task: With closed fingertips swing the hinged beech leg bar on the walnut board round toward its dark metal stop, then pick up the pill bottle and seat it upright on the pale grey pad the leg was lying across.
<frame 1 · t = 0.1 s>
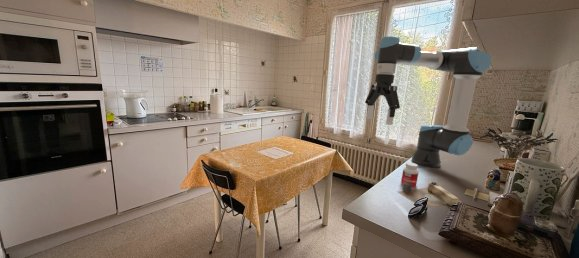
hand: (378, 121, 107), 28 cm above the counter, fingers open, 13 cm apart
leg bar: (442, 192, 94), point 4 cm above the counter, hinge at 75.0°
pill bottle: (407, 187, 106), on the counter
board: (428, 199, 95), on the counter
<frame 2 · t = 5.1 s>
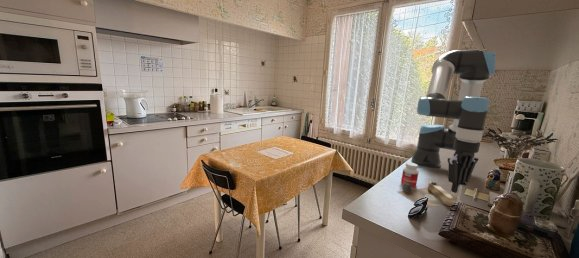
hand: (454, 199, 89), 3 cm above the counter, fingers closed
leg bar: (440, 192, 94), point 4 cm above the counter, hinge at 69.7°, touching gripper
everything else where it was.
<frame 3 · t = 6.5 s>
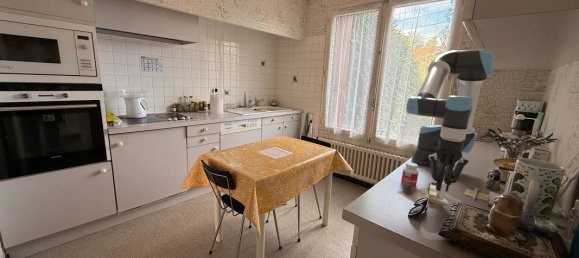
hand: (439, 198, 90), 3 cm above the counter, fingers closed
leg bar: (433, 191, 95), point 4 cm above the counter, hinge at 39.4°, touching gripper
everything else where it was.
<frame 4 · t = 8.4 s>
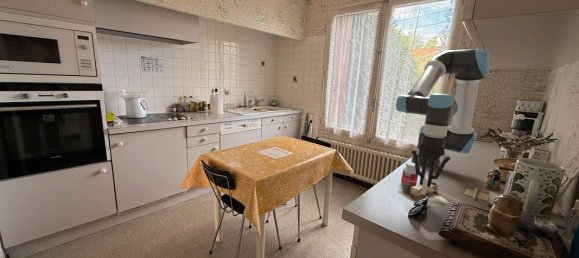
hand: (423, 193, 93), 4 cm above the counter, fingers closed
leg bar: (425, 188, 97), point 4 cm above the counter, hinge at 7.0°
everything else where it was.
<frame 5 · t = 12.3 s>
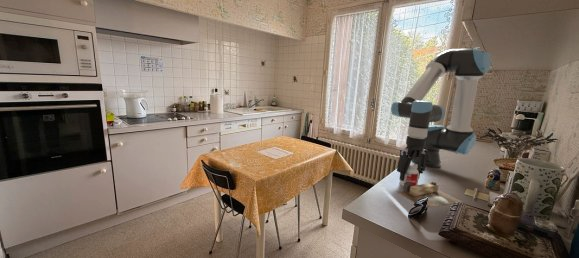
hand: (408, 186, 106), 0 cm above the counter, fingers closed on pill bottle, 6 cm apart
leg bar: (424, 188, 97), point 4 cm above the counter, hinge at 5.5°
pill bottle: (407, 187, 106), on the counter, touching gripper
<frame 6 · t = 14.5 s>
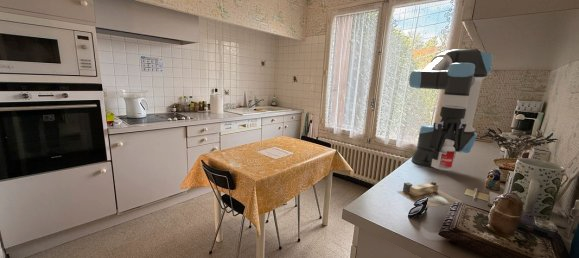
hand: (441, 166, 90), 15 cm above the counter, fingers closed on pill bottle, 6 cm apart
pill bottle: (441, 168, 90), point 14 cm above the counter, touching gripper
everything else where it was.
when the fingers open (3 cm above the counter, at t = 16.9 s): pill bottle drops 1 cm, resting on board.
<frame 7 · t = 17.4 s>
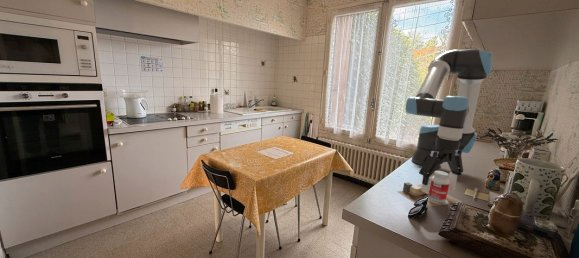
hand: (437, 190, 92), 5 cm above the counter, fingers open, 13 cm apart
pill bottle: (436, 199, 93), point 1 cm above the counter, touching board
everything else where it was.
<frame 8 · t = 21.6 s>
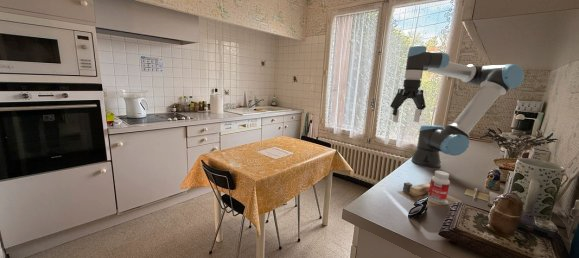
hand: (405, 121, 119), 27 cm above the counter, fingers open, 13 cm apart
nothing on the counter moved.
at the end: leg bar at +6° (first picture: +75°); pill bottle inside the target area (0.2 cm from its centre), point 1.4 cm above the counter; pill bottle tilted 1° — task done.
